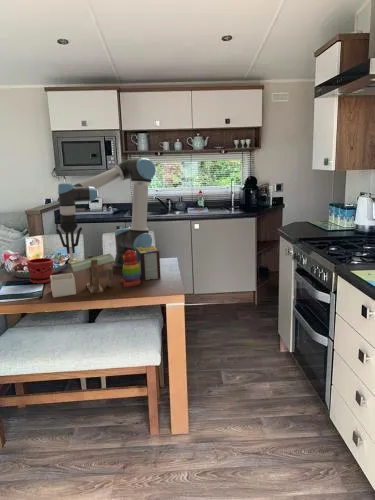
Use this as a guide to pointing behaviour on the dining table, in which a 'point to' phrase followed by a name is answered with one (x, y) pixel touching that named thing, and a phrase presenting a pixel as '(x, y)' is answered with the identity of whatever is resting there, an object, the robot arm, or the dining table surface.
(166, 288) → the dining table surface
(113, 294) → the dining table surface
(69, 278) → the grey box
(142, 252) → the protein box
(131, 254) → the stacking bear
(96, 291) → the stand
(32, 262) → the plant pot
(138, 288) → the dining table surface
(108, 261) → the lever
